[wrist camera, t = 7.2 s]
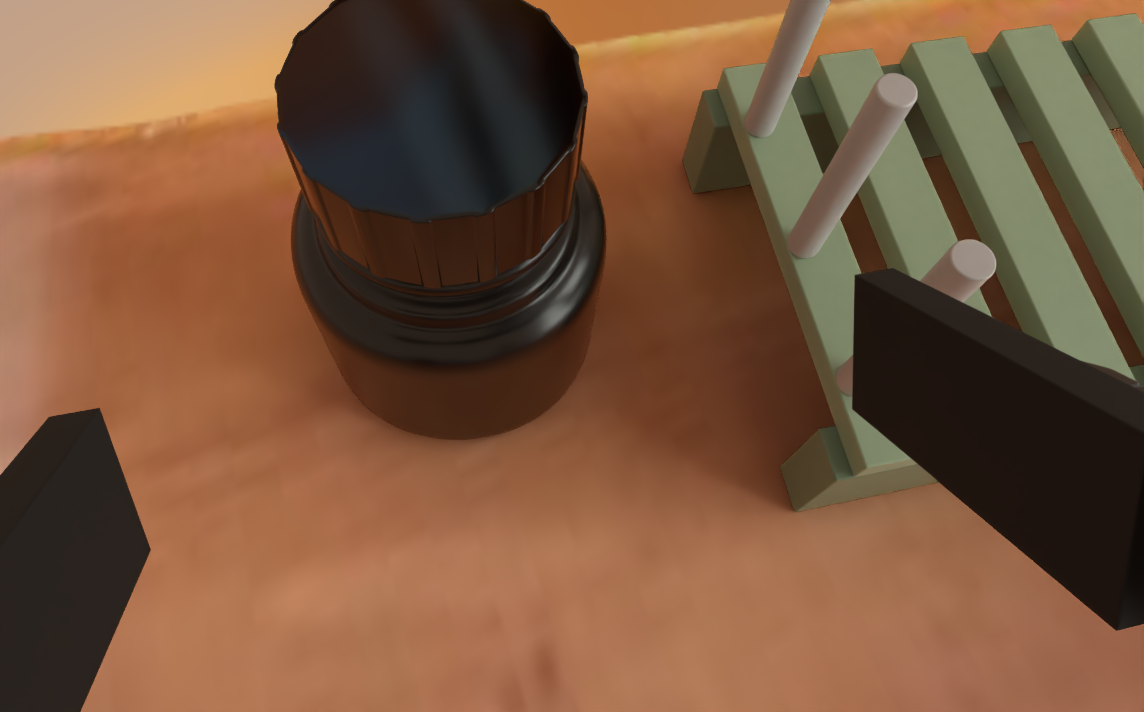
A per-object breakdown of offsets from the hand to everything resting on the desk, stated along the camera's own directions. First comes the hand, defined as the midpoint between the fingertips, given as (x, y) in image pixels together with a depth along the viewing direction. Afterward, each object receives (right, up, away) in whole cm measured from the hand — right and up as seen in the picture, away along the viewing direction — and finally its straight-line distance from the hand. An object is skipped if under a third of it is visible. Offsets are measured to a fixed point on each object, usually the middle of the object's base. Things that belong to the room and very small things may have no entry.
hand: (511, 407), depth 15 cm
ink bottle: (-3, +2, +15) cm, 15 cm away
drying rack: (+17, +4, +17) cm, 24 cm away
